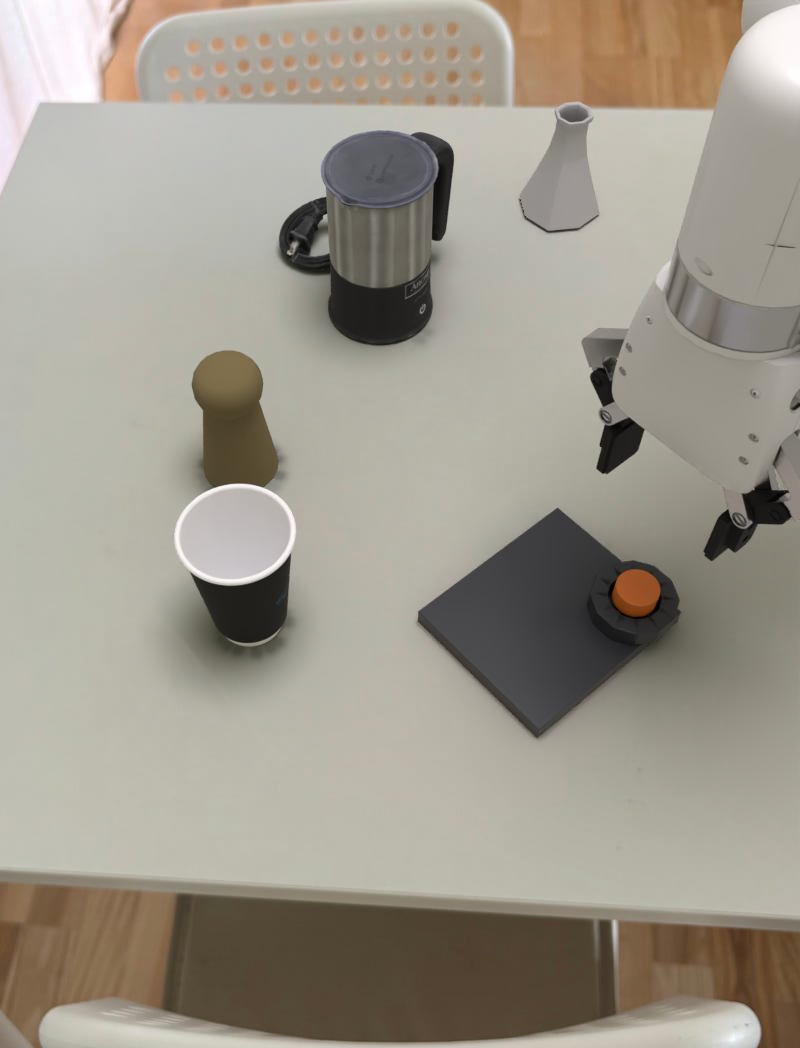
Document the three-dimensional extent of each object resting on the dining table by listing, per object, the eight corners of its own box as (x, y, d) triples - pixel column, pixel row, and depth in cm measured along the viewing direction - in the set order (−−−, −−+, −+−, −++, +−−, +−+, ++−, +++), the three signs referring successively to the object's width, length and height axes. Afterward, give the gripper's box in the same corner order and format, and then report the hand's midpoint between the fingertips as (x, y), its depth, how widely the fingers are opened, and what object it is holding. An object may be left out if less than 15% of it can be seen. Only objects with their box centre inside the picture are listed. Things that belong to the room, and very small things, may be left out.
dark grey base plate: (559, 514, 84) (564, 491, 81) (686, 622, 78) (696, 600, 76) (417, 621, 79) (418, 599, 77) (541, 743, 74) (547, 724, 71)
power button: (632, 573, 78) (636, 561, 76) (665, 601, 76) (670, 589, 75) (602, 596, 77) (606, 585, 75) (635, 625, 75) (639, 613, 74)
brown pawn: (235, 506, 86) (217, 413, 77) (188, 462, 88) (165, 366, 79) (294, 464, 88) (284, 368, 79) (246, 422, 90) (231, 325, 81)
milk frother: (415, 356, 94) (421, 214, 81) (242, 320, 97) (223, 178, 85) (458, 247, 101) (469, 102, 89) (296, 217, 104) (285, 73, 92)
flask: (505, 196, 105) (516, 101, 96) (572, 174, 106) (588, 78, 98) (543, 242, 101) (558, 147, 92) (612, 218, 102) (633, 123, 94)
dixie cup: (325, 634, 79) (318, 548, 70) (226, 685, 77) (206, 603, 68) (273, 555, 83) (260, 464, 74) (178, 602, 81) (153, 514, 72)
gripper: (958, 344, 50) (826, 559, 64) (662, 163, 58) (605, 391, 72) (854, 427, 47) (742, 631, 62) (560, 227, 55) (522, 449, 70)
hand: (668, 501), depth 67 cm, fingers open, 7 cm apart
